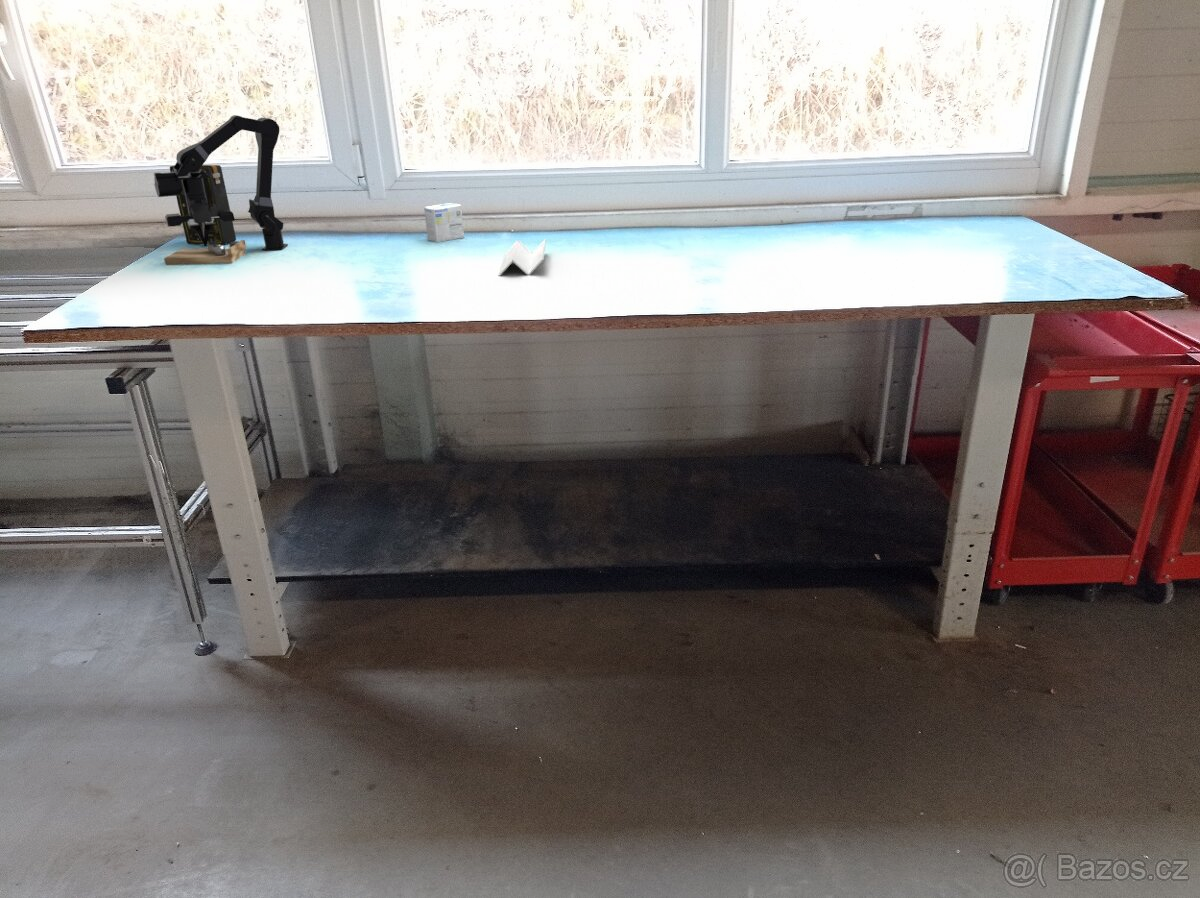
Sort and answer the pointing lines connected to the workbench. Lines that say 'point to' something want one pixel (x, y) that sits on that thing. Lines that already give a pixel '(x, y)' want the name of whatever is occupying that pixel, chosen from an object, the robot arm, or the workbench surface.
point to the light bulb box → (444, 222)
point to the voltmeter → (214, 195)
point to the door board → (207, 255)
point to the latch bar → (216, 247)
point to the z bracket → (523, 257)
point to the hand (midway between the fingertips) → (205, 246)
